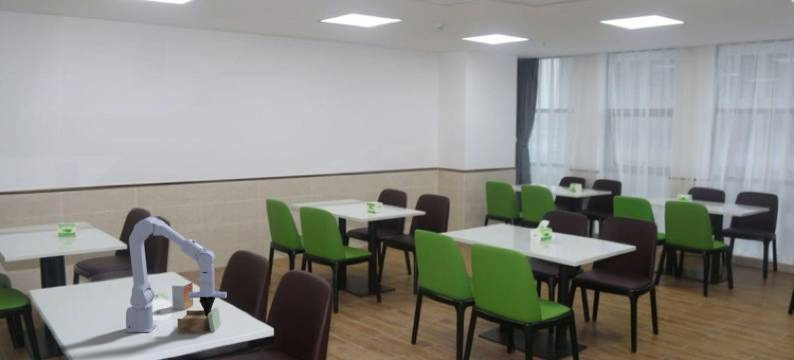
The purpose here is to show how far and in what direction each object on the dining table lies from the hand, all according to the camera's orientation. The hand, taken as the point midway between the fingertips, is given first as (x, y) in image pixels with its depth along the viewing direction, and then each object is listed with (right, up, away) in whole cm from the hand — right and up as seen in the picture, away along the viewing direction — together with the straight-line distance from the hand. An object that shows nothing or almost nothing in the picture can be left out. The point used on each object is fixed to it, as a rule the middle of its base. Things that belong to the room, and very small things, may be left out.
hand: (208, 315), depth 259 cm
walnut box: (-5, -5, 0) cm, 7 cm away
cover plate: (+2, -2, 0) cm, 2 cm away
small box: (-19, -3, +29) cm, 35 cm away
